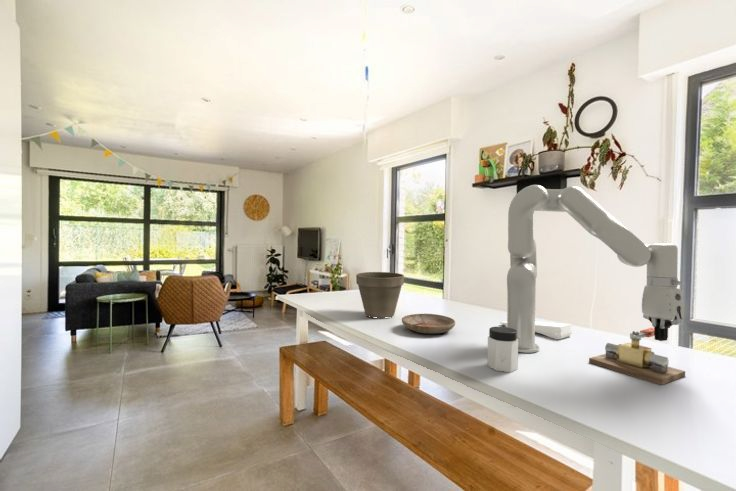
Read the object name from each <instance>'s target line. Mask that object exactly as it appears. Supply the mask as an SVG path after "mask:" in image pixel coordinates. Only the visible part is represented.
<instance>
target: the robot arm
mask: <svg viewBox="0 0 736 491" xmlns="http://www.w3.org/2000/svg"><path fill="white" fill-rule="evenodd" d="M535 211H536V212H556V213H557V212H559V213H567V214H568V215H569V216H570V217H572V218H573V219H574V221H576V222H577V223H578V225H580V226H581V227H582V228H583V229H584V230H585V231H586V232H588V234H590V235H592V236H593V237H595V238H597V239H598V240H599V241H601V242H602V243H604V245H606V246H607V247H608V248H609V249H611V250H612V252H613V253H615V255H616V257H617V259H618V261H619V262H621V263H623V264H624V265H627V266H629V267H630V266H631V267H634V268H635V267H636V268H639V267H640V268H641V267H643V266H645V265H646V285H644V288H643V292H642V297H641V313H642V318H643V319H646V320H648V321H649V322H650V323H651V326H652V328H654V336H653V337H654V340H656V341H659V342H665V341H668V338H669V329H670V328H671V327H672V326H678V325H681V324H682V322H681V321H682V320H684V318H685V305H684V297H683V293H682V290H681V288H680V287H678V286H680V285H681V284H682V281H681V280H678V260H679V259H678V258H679V257H678V254H679V252H678V250H679V249H678V246H677V245H676V244H674V243H661V242H660V243H651V244H647V243H646V244H645V243H644V242H643V241H642V240H641V239H640V238H638V237H637V236H636V235H635V234H634V233H633V232H632V231H630V230H629V228H627V227H626V226H625V225H623V224H622V223H621V222H620V221H618V219H616V218H615V217H614V216H613V215H611V214H610V213H609V212H608V211H607V210H605V208H604V207H602V206H601V205H600V204H599V203H598V202H597V201H596V200H594V199H593V198H592V197H591V196H590V195H589V194H588V193H587V192H586V191H585V190H583V189H582V188H581V187H579V186H576V185H575V186H574V185H571V186H566V187H565V188H560V189H557V188H556V189H555V188H554V189H553V188H552V189H551V188H545V187H544V186H542V185H540V184H531V185H529V186H525V187H523V188H522V189H521V190H519V191H518V192H517V193H516V194H515V195H514V196H513V198H512V200H511V202H510V203H509V207H508V213H507V219H508V220H507V222H508V223H507V229H508V230H507V236H508V237H507V239H508V240H507V250H508V253H509V255H510V256H509V258H510V259H509V262H510V264H509V265H510V267H509V269H508V271H507V276H506V287H507V288H506V290H507V291H506V294H507V296H506V297H507V298H506V299H507V300H506V301H507V302H506V305H507V306H506V308H507V309H506V311H507V314H506V319H507V320H506V321H507V327H508V328H512V329H515V330H516V331H517V339H518V353H525V354H528V353H529V354H531V353H537V352H539V351H540V346H539V344H537V343H536V341H535V340H536V332H535V322H536V284H537V276H538V270H537V269H538V266H537V243H536V240H535V239H534V213H535Z"/></svg>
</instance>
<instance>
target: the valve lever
mask: <svg viewBox="0 0 736 491" xmlns="http://www.w3.org/2000/svg"><path fill="white" fill-rule="evenodd" d="M653 337H655V336H654V327H648V328H644V329H642V330H639V331H636V330H633V331H632V332H631V333H630V334H629V339H630V340H631V339H633V340H639V341H641V340H642V338H653Z"/></svg>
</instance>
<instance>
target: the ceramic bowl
mask: <svg viewBox="0 0 736 491" xmlns="http://www.w3.org/2000/svg"><path fill="white" fill-rule="evenodd" d="M401 323H402V324H403V326H404V327H406V328H407V329H409V330H411V331H412V332H416V333H419V334H420V333H421V334H426V335H428V334H429V335H430V334H431V335H434V334H437V335H438V334H443V333H446V332H449V331H450V330H452V329H453V328H454V327H455V326H456V321H455V319H454V318H451V317H450V316H446V315H441V314H435V313H434V314H433V313H414V314H413V313H411V314H407V315H405V316H403V317H402V318H401Z"/></svg>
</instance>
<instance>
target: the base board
mask: <svg viewBox="0 0 736 491" xmlns="http://www.w3.org/2000/svg"><path fill="white" fill-rule="evenodd" d="M588 363H590V364H593V365H595V366H598V367H602V368H605V369H609V370H613V371H615V372H618V373H622V374H625V375H629V376H632V377H634V378H637V379H640V380H641V379H642V380H644V381H647V382H651V383H655V384H657V385H661V386H663V385H665V384H668V383H671V382H674V381H675V380H679V379H681V378H684V377H686V371H685V370H682V369H678V368H674V367H671V366H668V369H667V372H665V373H662V374H661V373H657V372H654V371H652V366H646V367H643V368H641V367H638V366H634V365H631V364H627V363H624V362H620V361H619V359H615V360H612V359H608V358H606V353H604V354H600V355H596V356H592V357H589V359H588Z"/></svg>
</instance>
